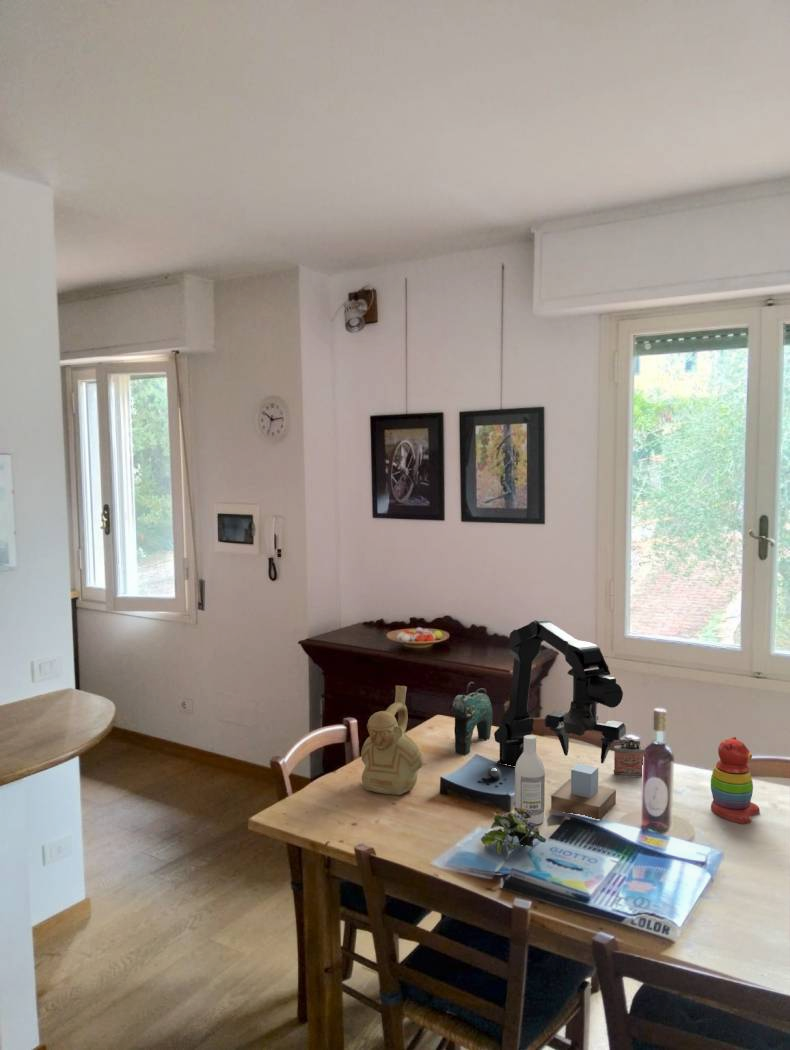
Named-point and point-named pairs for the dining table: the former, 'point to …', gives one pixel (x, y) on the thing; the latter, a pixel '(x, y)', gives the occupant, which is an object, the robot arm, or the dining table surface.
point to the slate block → (584, 780)
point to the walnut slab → (583, 801)
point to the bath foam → (530, 782)
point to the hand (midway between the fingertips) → (584, 759)
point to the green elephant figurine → (471, 719)
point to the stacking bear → (733, 783)
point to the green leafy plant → (512, 831)
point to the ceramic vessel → (390, 751)
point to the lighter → (628, 758)
